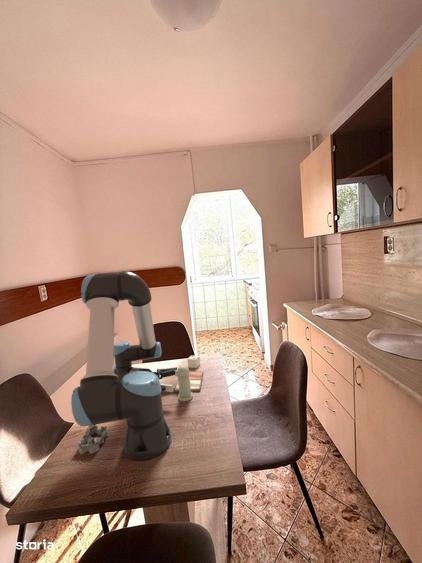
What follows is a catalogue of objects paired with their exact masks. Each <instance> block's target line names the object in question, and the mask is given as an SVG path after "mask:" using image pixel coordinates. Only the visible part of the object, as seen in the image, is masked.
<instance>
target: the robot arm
mask: <svg viewBox="0 0 422 563" xmlns="http://www.w3.org/2000/svg"><path fill="white" fill-rule="evenodd" d="M80 292H81V300H82V302H83V304H85V306H86V308H87V309H88V310H89V322H88V336H87V337H88V339H87V353H86V369H85V375H83V377H82V378H80V381H79V386H77V387H76V388H74V389H73V390H72V393H71V396H70V397H71V401H70V402H71V403H70V405H71V413H72V416H73V418H74V421H75V423H76V424H77V425H78V426H80V427H87V426H88V427H89V426H90V425H93V426H94V425H96V426H97V425H101V424H105V423H106V424H107V423H110V422H111V423H112V422H117V421H122V420H123V421H124V420H126V425H127V427H126V431H125V436H124V440H123V447H124V448H123V449H124V453H125V455H126V456H127V457H128V458H130V460H131V459H132V460H134V461H146V460H151V459H153V458H156V457H158V456H159V455H161V454H162V453H164V452H165V451H166V450H167V449H168V448H169V446H170V445H171V442H172V432H171V428H170V426H169V424H168V422H167V420H166V418H165V416H164V408H163V401H162V400H163V399H162V392H169V393H174V385H173V384H166V383H161V382H160V380H163V379H164V378H168V377H169V378H170V377H174V376H175V377H178V374H177V370H178V367H169V368H157V369H156V371H152V369H151V368H146V367H144V368H143V367H136V366H133V362H137V361H144V360H152V359H153V360H154V359H156V358H160V357H162V345H161V342H160V341H156V336H155V328H154V322H153V315H152V314H153V313H152V310H151V302H152V298H153V297H152V294H151V293H152V292H151V290H150V288H149V286H148V284H147V283H146V281H145V280H143V278H141V276H139V275H138V274H136V273H134V272H131V271H114V272H105V273H99V272H98V273H93V274H88V275H87V276H85V277H84V278H83V280H82V283H81V288H80ZM122 301H128V305H129V306H131V309H132V315H133V318H134V322H135V323H134V324H135V329H136V333H137V338H138V342H139V343H138V344H134V345H133V344H132V345H130V342H129V341H120V342H117V343H115V311H116V309H118V308H119V306H120V305H119V304H120V302H122Z"/></svg>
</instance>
